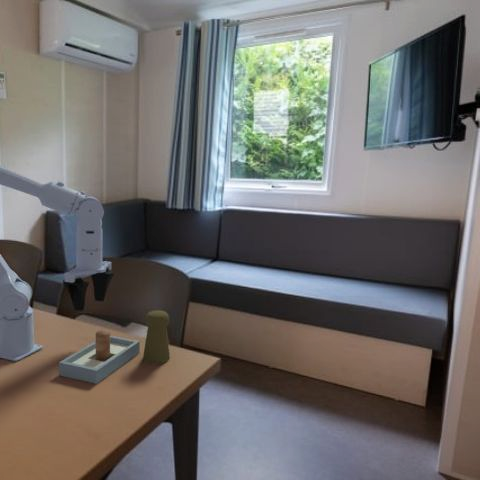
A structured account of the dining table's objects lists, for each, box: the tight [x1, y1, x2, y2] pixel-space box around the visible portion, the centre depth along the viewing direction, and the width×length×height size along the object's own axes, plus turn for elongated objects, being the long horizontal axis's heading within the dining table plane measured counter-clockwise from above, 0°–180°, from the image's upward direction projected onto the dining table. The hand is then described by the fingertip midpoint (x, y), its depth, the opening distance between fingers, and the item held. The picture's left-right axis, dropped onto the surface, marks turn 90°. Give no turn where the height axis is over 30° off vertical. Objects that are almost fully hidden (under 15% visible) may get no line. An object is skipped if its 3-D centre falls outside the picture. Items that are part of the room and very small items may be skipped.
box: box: [58, 335, 141, 385], centre depth 91 cm, size 9×16×3 cm, turn 162°
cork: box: [142, 309, 171, 365], centre depth 94 cm, size 6×6×11 cm
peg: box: [95, 329, 111, 362], centre depth 91 cm, size 3×3×7 cm
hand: (89, 305), depth 99 cm, fingers open, 7 cm apart
